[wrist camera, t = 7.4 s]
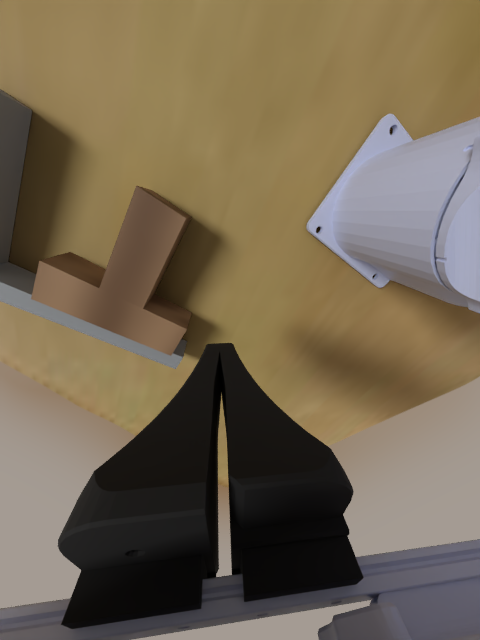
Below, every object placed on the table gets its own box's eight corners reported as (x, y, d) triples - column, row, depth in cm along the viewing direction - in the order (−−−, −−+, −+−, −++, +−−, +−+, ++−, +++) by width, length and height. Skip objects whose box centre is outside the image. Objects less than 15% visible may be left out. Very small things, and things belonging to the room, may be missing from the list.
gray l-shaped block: (242, 251, 16) (246, 257, 14) (180, 352, 20) (175, 369, 18) (0, 89, 11) (-55, 58, 9) (-19, 268, 15) (-60, 278, 13)
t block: (232, 244, 16) (234, 250, 13) (177, 336, 20) (170, 356, 17) (97, 154, 13) (66, 139, 10) (61, 284, 16) (30, 298, 14)
